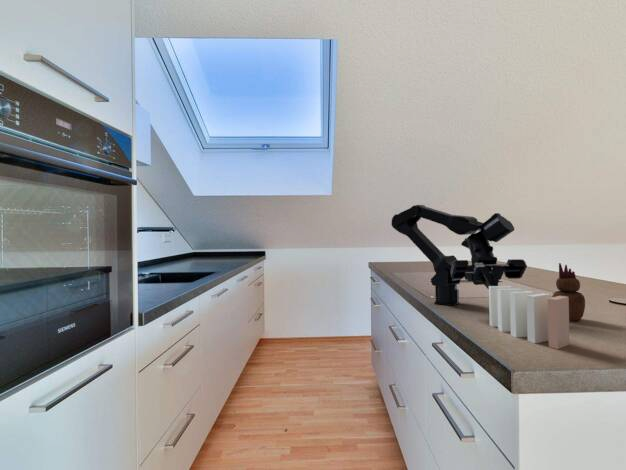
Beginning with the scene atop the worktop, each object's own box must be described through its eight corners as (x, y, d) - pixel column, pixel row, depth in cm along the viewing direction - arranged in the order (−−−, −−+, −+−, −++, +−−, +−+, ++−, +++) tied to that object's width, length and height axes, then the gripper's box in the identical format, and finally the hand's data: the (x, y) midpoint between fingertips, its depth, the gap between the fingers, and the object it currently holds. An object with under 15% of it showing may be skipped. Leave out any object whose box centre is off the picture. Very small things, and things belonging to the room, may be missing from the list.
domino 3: (510, 335, 74) (509, 292, 74) (529, 333, 75) (528, 290, 75) (516, 337, 73) (515, 293, 73) (535, 335, 74) (534, 292, 74)
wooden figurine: (555, 320, 85) (553, 263, 85) (550, 315, 90) (549, 261, 90) (588, 323, 81) (586, 264, 81) (581, 318, 87) (580, 262, 86)
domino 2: (498, 329, 79) (497, 289, 79) (518, 329, 79) (517, 288, 79) (501, 331, 77) (500, 290, 77) (523, 331, 77) (522, 289, 77)
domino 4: (527, 341, 70) (526, 295, 70) (543, 337, 72) (542, 293, 72) (534, 343, 69) (533, 296, 69) (551, 340, 71) (550, 294, 70)
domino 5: (548, 346, 67) (547, 298, 67) (560, 342, 69) (559, 295, 69) (557, 349, 65) (556, 299, 65) (569, 344, 68) (568, 296, 68)
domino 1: (489, 324, 83) (488, 286, 83) (511, 325, 82) (509, 286, 82) (491, 326, 81) (490, 287, 81) (513, 327, 80) (512, 287, 80)
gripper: (507, 266, 101) (524, 310, 90) (444, 267, 104) (453, 309, 94) (517, 242, 93) (537, 287, 82) (449, 244, 96) (459, 287, 86)
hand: (495, 294), depth 86 cm, fingers closed
